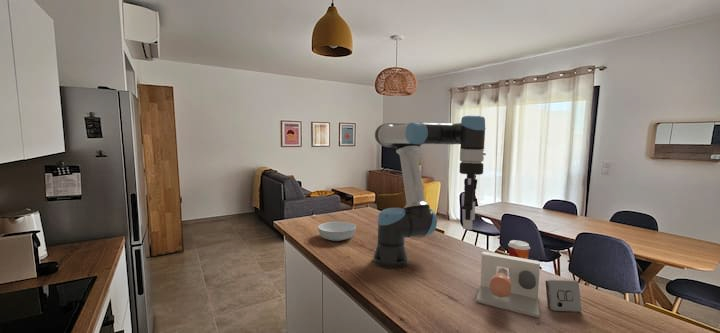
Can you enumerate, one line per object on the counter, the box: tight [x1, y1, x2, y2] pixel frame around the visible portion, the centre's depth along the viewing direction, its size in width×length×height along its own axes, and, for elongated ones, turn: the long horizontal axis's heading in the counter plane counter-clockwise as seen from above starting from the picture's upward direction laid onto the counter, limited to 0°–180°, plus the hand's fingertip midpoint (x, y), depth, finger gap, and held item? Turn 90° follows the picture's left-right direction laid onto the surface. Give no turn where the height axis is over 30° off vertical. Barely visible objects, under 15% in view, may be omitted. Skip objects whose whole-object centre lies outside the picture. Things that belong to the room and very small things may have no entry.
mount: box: [475, 251, 541, 319], centre depth 101 cm, size 18×14×13 cm
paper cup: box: [507, 239, 531, 277], centre depth 118 cm, size 8×8×14 cm
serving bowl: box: [317, 221, 357, 242], centre depth 163 cm, size 21×21×7 cm
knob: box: [490, 267, 511, 298], centre depth 100 cm, size 6×13×6 cm, turn 151°
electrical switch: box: [545, 279, 582, 313], centre depth 97 cm, size 9×5×9 cm, turn 86°
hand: (469, 224), depth 102 cm, fingers open, 13 cm apart
